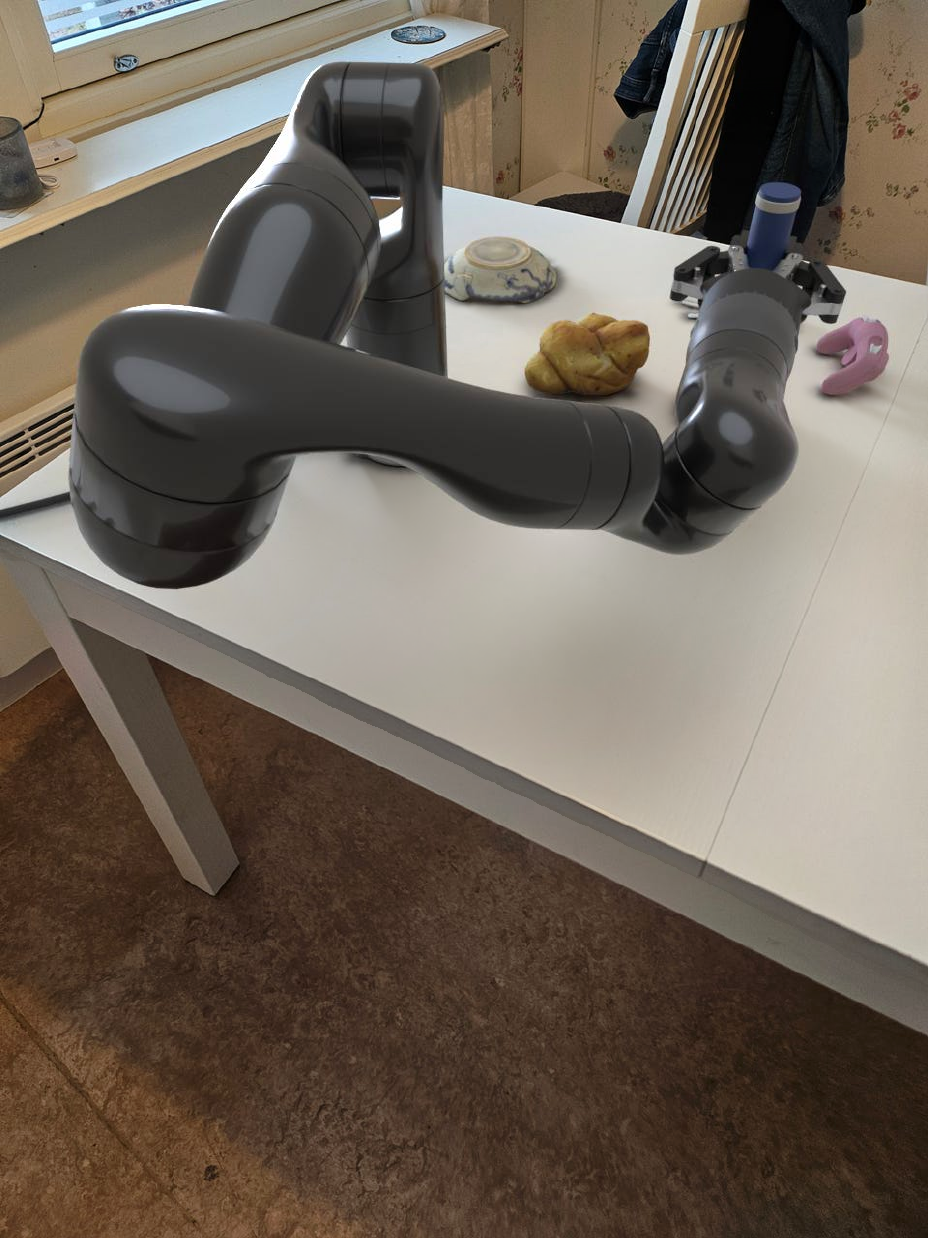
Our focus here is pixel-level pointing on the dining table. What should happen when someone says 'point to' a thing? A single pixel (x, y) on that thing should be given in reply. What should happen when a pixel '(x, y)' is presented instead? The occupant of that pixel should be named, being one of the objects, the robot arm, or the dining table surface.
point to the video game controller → (855, 354)
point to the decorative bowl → (498, 271)
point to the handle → (772, 224)
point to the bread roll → (588, 356)
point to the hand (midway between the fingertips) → (767, 244)
